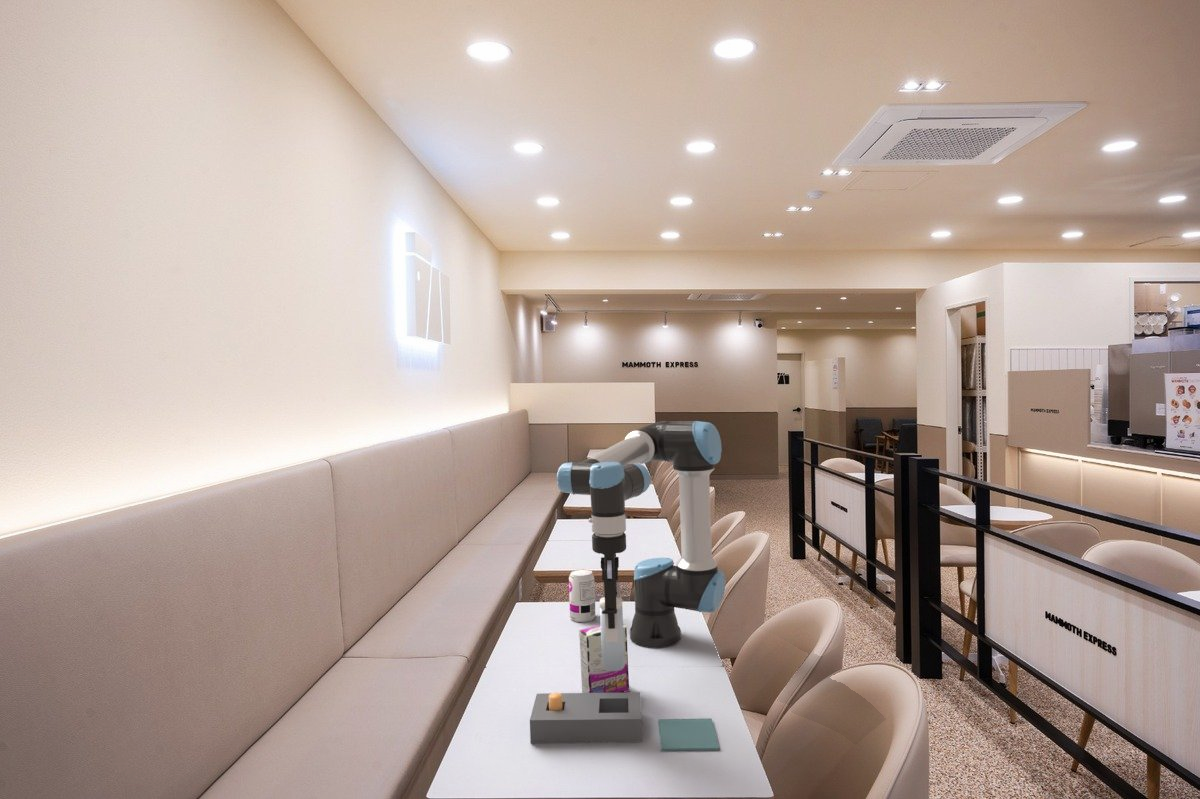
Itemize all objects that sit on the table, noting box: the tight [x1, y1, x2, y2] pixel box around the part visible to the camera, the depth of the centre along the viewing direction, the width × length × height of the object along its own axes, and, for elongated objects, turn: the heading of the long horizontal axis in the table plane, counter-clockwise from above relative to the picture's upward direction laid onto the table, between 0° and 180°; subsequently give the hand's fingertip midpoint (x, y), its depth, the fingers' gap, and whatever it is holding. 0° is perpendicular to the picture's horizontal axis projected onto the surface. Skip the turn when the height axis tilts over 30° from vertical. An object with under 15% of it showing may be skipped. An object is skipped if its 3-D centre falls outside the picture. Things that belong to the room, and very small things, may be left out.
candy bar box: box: [578, 624, 630, 693], centre depth 166 cm, size 11×5×16 cm, turn 117°
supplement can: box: [568, 568, 596, 623], centre depth 217 cm, size 8×8×15 cm
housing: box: [529, 691, 643, 744], centre depth 150 cm, size 24×12×5 cm, turn 88°
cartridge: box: [599, 596, 625, 671], centre depth 150 cm, size 5×5×15 cm
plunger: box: [549, 692, 563, 711], centre depth 150 cm, size 3×3×6 cm
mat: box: [657, 717, 720, 752], centre depth 146 cm, size 12×12×1 cm
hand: (612, 636), depth 150 cm, fingers closed on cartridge, 5 cm apart
